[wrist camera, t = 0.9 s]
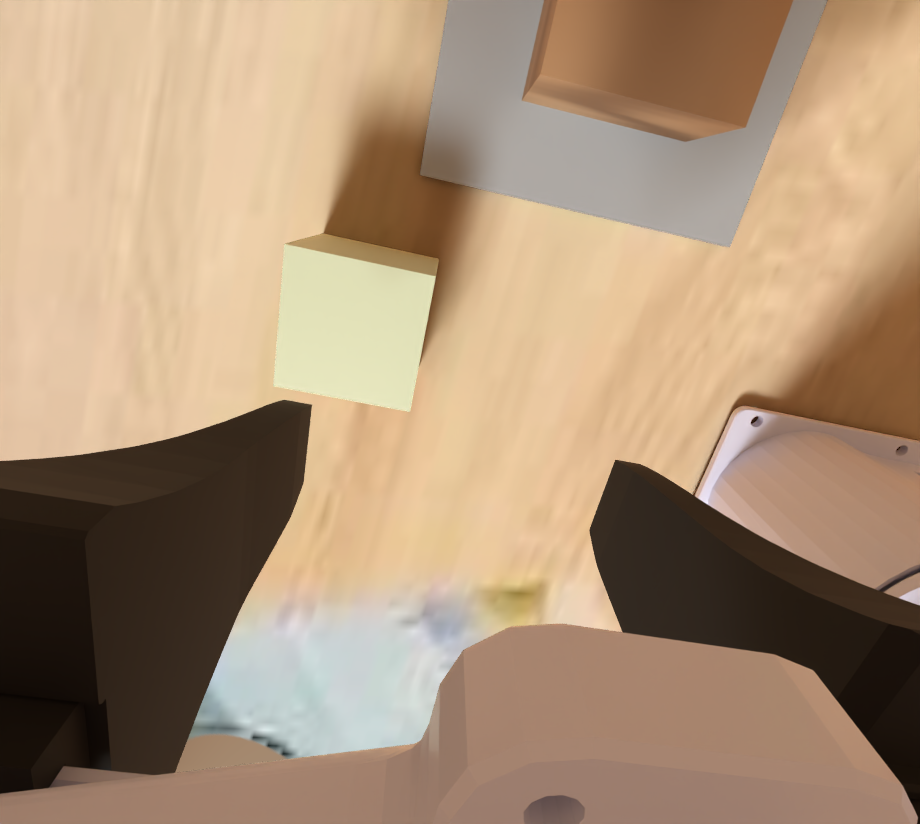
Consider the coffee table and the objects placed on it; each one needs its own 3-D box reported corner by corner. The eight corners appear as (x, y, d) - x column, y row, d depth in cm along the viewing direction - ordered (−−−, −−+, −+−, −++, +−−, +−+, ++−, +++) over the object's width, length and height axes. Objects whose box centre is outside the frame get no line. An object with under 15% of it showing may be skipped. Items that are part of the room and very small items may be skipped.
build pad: (885, -163, 15) (896, -172, 15) (724, 246, 20) (729, 247, 19) (497, -290, 14) (498, -302, 14) (420, 175, 19) (419, 174, 18)
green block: (439, 258, 20) (435, 276, 15) (418, 366, 22) (410, 412, 17) (323, 233, 20) (284, 243, 15) (312, 345, 21) (273, 386, 17)
